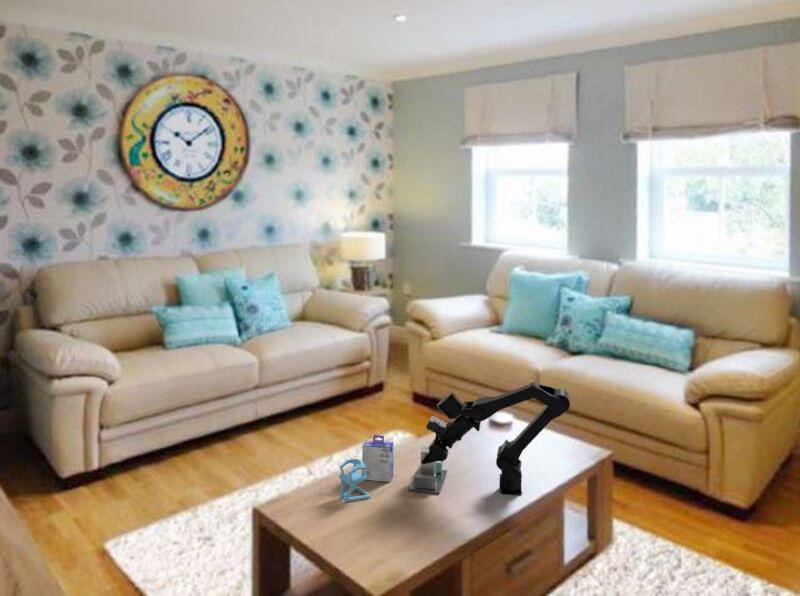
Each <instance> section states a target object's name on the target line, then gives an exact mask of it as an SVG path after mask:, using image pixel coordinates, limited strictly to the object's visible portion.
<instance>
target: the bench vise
mask: <svg viewBox="0 0 800 596" xmlns="http://www.w3.org/2000/svg"><path fill="white" fill-rule="evenodd" d="M447 474H448V470H447V469H442V473H436V476H428V475H421V467H417V469H416V472H415V474H414V476H413V478H412V480H411V483H410V486H409V488H408V492H413V493H422V494H431V495H440V494H441V490H442V489H443V486H444V483H445V479H446V476H447Z"/></svg>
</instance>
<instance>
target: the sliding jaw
mask: <svg viewBox="0 0 800 596" xmlns="http://www.w3.org/2000/svg"><path fill="white" fill-rule="evenodd" d="M442 470H443V462H442V461H436V473H442Z"/></svg>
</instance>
